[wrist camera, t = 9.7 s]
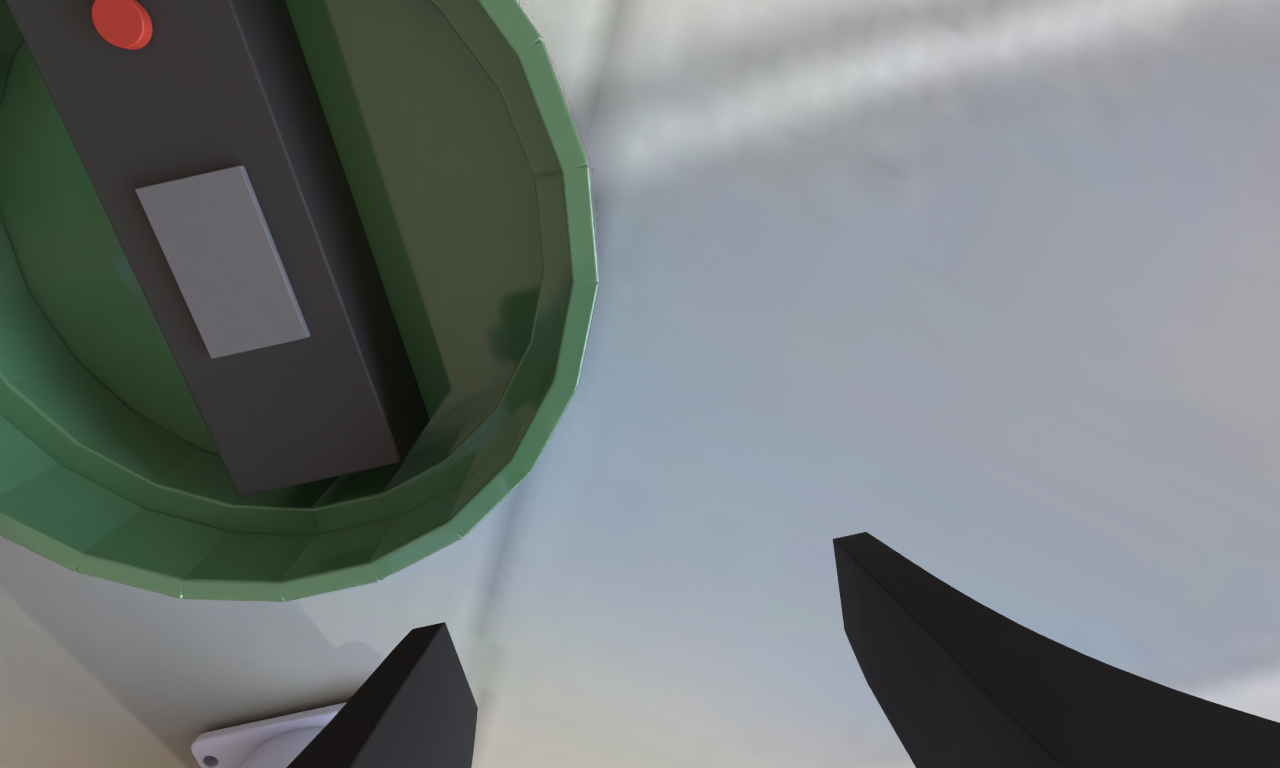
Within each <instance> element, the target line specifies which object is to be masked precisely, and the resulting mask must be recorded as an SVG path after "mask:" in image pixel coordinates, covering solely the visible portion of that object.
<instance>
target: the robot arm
mask: <svg viewBox="0 0 1280 768" xmlns="http://www.w3.org/2000/svg"><path fill="white" fill-rule="evenodd" d="M833 544H834V552H835V559H836V567H837V575H838V583H839V590H840V598H841V606H842V614H843V621H844V629H845V632H846V635H847V637H848V639H849V642H850V644H851V646H852V649H853V651H854V653H855V656H856V658H857V660H858V663H859V665H860V667H861V669H862V672H863V674H864V676H865V678H866V681H867V683H868V685H869V686H870V688H871V690H872V692H873V694H874V695H875V697H876V699H877V701H878V702H879V704H880V706H881V708H882V709H883V711H884V713H885V715H886V716H887V718H888V720H889V722H890V723H891V725H892V727H893V728H894V730H895V732H896V734H897V735H898V737H899V739H900V741H901V742H902V744H903V746H904V747H905V749H906V751H907V753H908V754H909V756H910V758H911V759H912V761H913V763H914V765H915V766H916V768H1280V723H1278V722H1275V721H1271V720H1268V719H1265V718H1262V717H1258V716H1255V715H1252V714H1249V713H1245V712H1242V711H1239V710H1236V709H1232V708H1229V707H1226V706H1223V705H1219V704H1216V703H1213V702H1210V701H1207V700H1204V699H1201V698H1198V697H1195V696H1192V695H1189V694H1186V693H1183V692H1180V691H1177V690H1174V689H1172V688H1169V687H1166V686H1163V685H1161V684H1158V683H1155V682H1153V681H1150V680H1147V679H1145V678H1142V677H1139V676H1137V675H1134V674H1131V673H1129V672H1126V671H1124V670H1121V669H1118V668H1116V667H1113V666H1111V665H1108V664H1106V663H1103V662H1101V661H1098V660H1096V659H1094V658H1091V657H1089V656H1086V655H1084V654H1082V653H1080V652H1078V651H1075V650H1073V649H1071V648H1069V647H1066V646H1064V645H1062V644H1060V643H1058V642H1055V641H1053V640H1051V639H1049V638H1047V637H1044V636H1042V635H1040V634H1038V633H1036V632H1034V631H1032V630H1030V629H1028V628H1026V627H1024V626H1022V625H1020V624H1018V623H1016V622H1014V621H1012V620H1010V619H1008V618H1007V617H1005V616H1003V615H1001V614H999V613H997V612H995V611H993V610H992V609H990V608H988V607H986V606H984V605H982V604H980V603H979V602H977V601H975V600H973V599H972V598H970V597H968V596H966V595H965V594H963V593H961V592H960V591H958V590H956V589H955V588H953V587H951V586H950V585H948V584H946V583H945V582H943V581H941V580H940V579H938V578H936V577H935V576H933V575H932V574H930V573H928V572H927V571H925V570H924V569H922V568H921V567H919V566H918V565H916V564H914V563H913V562H911V561H910V560H908V559H907V558H905V557H904V556H902V555H901V554H899V553H898V552H896V551H895V550H893V549H892V548H890V547H888V546H887V545H885V544H884V543H882V542H881V541H879V540H878V539H876V538H875V537H873V536H872V535H870V534H869V533H867V532H864V533H859V534H854V535H850V536H845V537H840V538H836V539H833ZM477 710H478V708H477V705H476V703H475V700H474V697H473V695H472V692H471V689H470V687H469V684H468V681H467V679H466V676H465V674H464V671H463V668H462V666H461V663H460V660H459V658H458V655H457V653H456V650H455V647H454V645H453V642H452V639H451V637H450V634H449V631H448V629H447V626H446V624H445V622H444V623H439V624H435V625H430V626H425V627H421V628H416V629H412V630H411V631H410V632H409V634H408V635H407V636H406V637H405V638H404V639H403V640H402V641H401V642H400V643H399V644H398V645H397V646H396V647H395V649H394V650H393V651H392V652H391V653H390V654H389V655H388V656H387V658H386V659H385V660H384V661H383V662H382V663H381V664H380V666H379V667H378V668H377V669H376V670H375V671H374V672H373V674H372V675H371V676H370V677H369V678H368V679H367V680H366V682H365V683H364V684H363V685H362V686H361V687H360V688H359V689H358V691H357V692H356V693H355V694H354V695H353V696H352V697H351V698H350V700H349V701H348V702H346V703H341V704H336V705H332V706H327V707H322V708H318V709H313V710H308V711H304V712H299V713H294V714H290V715H285V716H280V717H275V718H271V719H266V720H261V721H257V722H252V723H247V724H243V725H238V726H233V727H229V728H224V729H219V730H215V731H210V732H205V733H202V734H200V735H199V736H198V737H197V738H196V740H195V741H194V742H193V744H192V746H191V751H192V754H193V755H194V757H195V759H196V760H197V762H198V764H199V765H200V767H201V768H471V765H472V757H473V749H474V741H475V731H476V720H477Z"/></svg>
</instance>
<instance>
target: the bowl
mask: <svg viewBox="0 0 1280 768" xmlns="http://www.w3.org/2000/svg"><path fill="white" fill-rule="evenodd" d="M285 2H286V5H287V7H288V10H289V13H290V16H291V19H292V22H293V25H294V28H295V31H296V34H297V36H298V39H299V42H300V45H301V48H302V51H303V54H304V57H305V60H306V63H307V65H308V68H309V71H310V74H311V77H312V80H313V83H314V86H315V89H316V92H317V94H318V97H319V100H320V103H321V106H322V109H323V112H324V115H325V118H326V121H327V123H328V126H329V129H330V132H331V135H332V138H333V141H334V144H335V147H336V150H337V152H338V155H339V158H340V161H341V164H342V167H343V170H344V173H345V176H346V179H347V181H348V184H349V187H350V190H351V193H352V196H353V199H354V202H355V205H356V208H357V210H358V213H359V216H360V219H361V222H362V225H363V228H364V231H365V234H366V237H367V239H368V242H369V245H370V248H371V251H372V254H373V257H374V260H375V263H376V265H377V268H378V271H379V274H380V277H381V280H382V283H383V286H384V289H385V292H386V294H387V297H388V300H389V303H390V306H391V309H392V312H393V315H394V318H395V321H396V323H397V326H398V329H399V332H400V335H401V338H402V341H403V344H404V347H405V350H406V352H407V355H408V358H409V361H410V364H411V367H412V370H413V373H414V376H415V379H416V381H417V384H418V387H419V390H420V393H421V396H422V399H423V402H424V405H425V408H426V410H427V413H428V416H429V419H430V421H429V423H428V424H427V426H426V427H425V429H424V430H423V431H422V433H421V434H420V436H419V437H418V439H417V440H416V441H415V443H414V444H413V446H412V447H411V449H410V450H409V452H408V453H407V454H406V456H405V457H404V459H403V460H402V462H400V463H397V464H392V465H387V466H383V467H378V468H374V469H369V470H364V471H360V472H355V473H351V474H346V475H342V476H337V477H332V478H328V479H323V480H319V481H314V482H309V483H305V484H300V485H296V486H291V487H286V488H282V489H277V490H273V491H268V492H264V493H259V494H254V495H250V496H245V497H240V496H239V495H238V493H237V490H236V488H235V486H234V484H233V482H232V480H231V478H230V476H229V473H228V471H227V469H226V467H225V465H224V463H223V461H222V459H221V456H220V454H219V452H218V450H217V448H216V446H215V444H214V442H213V439H212V437H211V435H210V433H209V431H208V429H207V427H206V425H205V422H204V420H203V418H202V416H201V414H200V412H199V410H198V408H197V406H196V403H195V401H194V399H193V397H192V395H191V393H190V391H189V389H188V386H187V384H186V382H185V380H184V378H183V376H182V374H181V372H180V369H179V367H178V365H177V363H176V361H175V359H174V357H173V355H172V352H171V350H170V348H169V346H168V344H167V342H166V340H165V338H164V335H163V333H162V331H161V329H160V327H159V325H158V323H157V321H156V319H155V316H154V314H153V312H152V310H151V308H150V306H149V304H148V302H147V299H146V297H145V295H144V293H143V291H142V289H141V287H140V285H139V282H138V280H137V278H136V276H135V274H134V272H133V270H132V268H131V265H130V263H129V261H128V259H127V257H126V255H125V253H124V251H123V248H122V246H121V244H120V242H119V240H118V238H117V236H116V234H115V231H114V229H113V227H112V225H111V223H110V221H109V219H108V217H107V215H106V212H105V210H104V208H103V206H102V204H101V202H100V200H99V198H98V195H97V193H96V191H95V189H94V187H93V185H92V183H91V181H90V178H89V176H88V174H87V172H86V170H85V168H84V166H83V164H82V161H81V159H80V157H79V155H78V153H77V151H76V149H75V147H74V144H73V142H72V140H71V138H70V136H69V134H68V132H67V130H66V128H65V125H64V123H63V121H62V119H61V117H60V115H59V113H58V111H57V108H56V106H55V104H54V102H53V100H52V98H51V96H50V94H49V91H48V89H47V87H46V85H45V83H44V81H43V79H42V77H41V74H40V72H39V70H38V68H37V66H36V64H35V62H34V60H33V57H32V55H31V53H30V51H29V49H28V47H27V45H26V43H25V41H24V38H23V36H22V34H21V32H20V30H19V28H18V26H17V24H16V21H15V19H14V17H13V15H12V13H11V11H10V9H9V7H8V4H7V2H6V0H0V536H2V537H4V538H6V539H8V540H10V541H12V542H14V543H16V544H18V545H20V546H22V547H24V548H26V549H29V550H31V551H33V552H35V553H37V554H39V555H41V556H43V557H45V558H47V559H49V560H51V561H53V562H55V563H57V564H59V565H61V566H63V567H65V568H67V569H70V570H72V571H77V572H78V573H81V574H85V575H89V576H93V577H97V578H101V579H105V580H109V581H113V582H117V583H121V584H125V585H129V586H133V587H137V588H141V589H145V590H149V591H153V592H157V593H161V594H165V595H168V596H172V597H176V598H182V597H183V598H184V599H203V600H239V601H275V602H282V601H291V600H296V599H300V598H305V597H310V596H314V595H319V594H323V593H328V592H333V591H337V590H342V589H347V588H351V587H356V586H361V585H365V584H370V583H374V582H378V581H379V580H383V579H385V578H387V577H389V576H391V575H393V574H395V573H397V572H399V571H401V570H402V569H404V568H406V567H408V566H410V565H412V564H414V563H416V562H418V561H420V560H422V559H424V558H426V557H428V556H429V555H431V554H433V553H435V552H437V551H439V550H441V549H443V548H445V547H447V546H449V545H451V544H453V543H455V542H457V541H458V540H460V539H462V538H463V537H464V536H466V535H467V534H468V533H469V532H470V531H471V530H472V529H473V528H474V527H475V526H476V525H477V524H478V523H480V522H481V521H482V520H483V519H484V518H485V517H486V516H487V515H488V514H489V513H490V512H491V511H492V510H493V509H494V508H495V507H496V506H497V505H498V504H499V503H500V502H501V501H502V500H503V499H504V498H505V497H506V496H508V495H509V494H510V493H511V492H512V491H513V490H514V489H515V488H516V487H517V486H518V485H519V484H520V483H521V482H522V481H523V480H524V479H525V478H526V477H527V476H528V475H529V474H530V472H531V471H532V470H533V469H534V467H535V465H536V463H537V461H538V459H539V458H540V456H541V454H542V452H543V450H544V449H545V447H546V445H547V443H548V441H549V439H550V438H551V436H552V434H553V432H554V430H555V428H556V427H557V425H558V423H559V421H560V419H561V418H562V416H563V414H564V412H565V410H566V408H567V407H568V405H569V403H570V401H571V399H572V397H573V396H574V394H575V392H576V390H577V386H578V384H579V381H580V376H581V371H582V366H583V361H584V356H585V351H586V346H587V341H588V336H589V331H590V327H591V322H592V317H593V312H594V307H595V302H596V297H597V292H598V287H599V266H600V251H599V239H598V227H597V216H596V204H595V192H594V180H593V169H592V167H591V161H590V159H589V156H588V153H587V151H586V148H585V145H584V143H583V140H582V137H581V134H580V132H579V129H578V126H577V124H576V121H575V118H574V116H573V113H572V110H571V107H570V105H569V102H568V99H567V97H566V94H565V91H564V88H563V86H562V83H561V80H560V78H559V75H558V73H557V71H556V68H555V66H554V64H553V62H552V59H551V57H550V55H549V53H548V50H547V48H546V46H545V44H544V42H543V40H542V38H541V36H540V34H539V33H538V31H537V30H536V29H535V27H534V26H533V24H532V23H531V22H530V20H529V19H528V17H527V16H526V14H525V13H524V12H523V10H522V9H521V7H520V6H519V4H518V3H517V2H516V0H285Z"/></svg>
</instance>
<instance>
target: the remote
mask: <svg viewBox="0 0 1280 768" xmlns="http://www.w3.org/2000/svg"><path fill="white" fill-rule="evenodd" d="M6 2H7V4H8V7H9V9H10V11H11V13H12V15H13V17H14V19H15V21H16V24H17V26H18V28H19V30H20V32H21V34H22V36H23V38H24V41H25V43H26V45H27V47H28V49H29V51H30V53H31V55H32V57H33V60H34V62H35V64H36V66H37V68H38V70H39V72H40V74H41V77H42V79H43V81H44V83H45V85H46V87H47V89H48V91H49V94H50V96H51V98H52V100H53V102H54V104H55V106H56V108H57V111H58V113H59V115H60V117H61V119H62V121H63V123H64V125H65V128H66V130H67V132H68V134H69V136H70V138H71V140H72V142H73V144H74V147H75V149H76V151H77V153H78V155H79V157H80V159H81V161H82V164H83V166H84V168H85V170H86V172H87V174H88V176H89V178H90V181H91V183H92V185H93V187H94V189H95V191H96V193H97V195H98V198H99V200H100V202H101V204H102V206H103V208H104V210H105V212H106V215H107V217H108V219H109V221H110V223H111V225H112V227H113V229H114V231H115V234H116V236H117V238H118V240H119V242H120V244H121V246H122V248H123V251H124V253H125V255H126V257H127V259H128V261H129V263H130V265H131V268H132V270H133V272H134V274H135V276H136V278H137V280H138V282H139V285H140V287H141V289H142V291H143V293H144V295H145V297H146V299H147V302H148V304H149V306H150V308H151V310H152V312H153V314H154V316H155V319H156V321H157V323H158V325H159V327H160V329H161V331H162V333H163V335H164V338H165V340H166V342H167V344H168V346H169V348H170V350H171V352H172V355H173V357H174V359H175V361H176V363H177V365H178V367H179V369H180V372H181V374H182V376H183V378H184V380H185V382H186V384H187V386H188V389H189V391H190V393H191V395H192V397H193V399H194V401H195V403H196V406H197V408H198V410H199V412H200V414H201V416H202V418H203V420H204V422H205V425H206V427H207V429H208V431H209V433H210V435H211V437H212V439H213V442H214V444H215V446H216V448H217V450H218V452H219V454H220V456H221V459H222V461H223V463H224V465H225V467H226V469H227V471H228V473H229V476H230V478H231V480H232V482H233V484H234V486H235V488H236V490H237V493H238V495H239V496H240V497H245V496H250V495H254V494H259V493H264V492H268V491H273V490H277V489H282V488H286V487H291V486H296V485H300V484H305V483H309V482H314V481H319V480H323V479H328V478H332V477H337V476H342V475H346V474H351V473H355V472H360V471H364V470H369V469H374V468H378V467H383V466H387V465H392V464H397V463H400V462H402V460H403V459H404V457H405V456H406V454H407V453H408V452H409V450H410V449H411V447H412V446H413V444H414V443H415V441H416V440H417V439H418V437H419V436H420V434H421V433H422V431H423V430H424V429H425V427H426V426H427V424H428V423H429V421H430V419H429V416H428V413H427V410H426V408H425V405H424V402H423V399H422V396H421V393H420V390H419V387H418V384H417V381H416V379H415V376H414V373H413V370H412V367H411V364H410V361H409V358H408V355H407V352H406V350H405V347H404V344H403V341H402V338H401V335H400V332H399V329H398V326H397V323H396V321H395V318H394V315H393V312H392V309H391V306H390V303H389V300H388V297H387V294H386V292H385V289H384V286H383V283H382V280H381V277H380V274H379V271H378V268H377V265H376V263H375V260H374V257H373V254H372V251H371V248H370V245H369V242H368V239H367V237H366V234H365V231H364V228H363V225H362V222H361V219H360V216H359V213H358V210H357V208H356V205H355V202H354V199H353V196H352V193H351V190H350V187H349V184H348V181H347V179H346V176H345V173H344V170H343V167H342V164H341V161H340V158H339V155H338V152H337V150H336V147H335V144H334V141H333V138H332V135H331V132H330V129H329V126H328V123H327V121H326V118H325V115H324V112H323V109H322V106H321V103H320V100H319V97H318V94H317V92H316V89H315V86H314V83H313V80H312V77H311V74H310V71H309V68H308V65H307V63H306V60H305V57H304V54H303V51H302V48H301V45H300V42H299V39H298V36H297V34H296V31H295V28H294V25H293V22H292V19H291V16H290V13H289V10H288V7H287V5H286V2H285V0H6Z"/></svg>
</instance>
